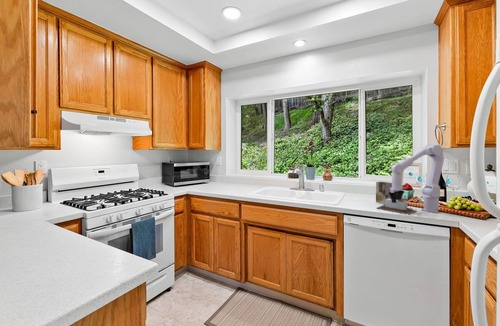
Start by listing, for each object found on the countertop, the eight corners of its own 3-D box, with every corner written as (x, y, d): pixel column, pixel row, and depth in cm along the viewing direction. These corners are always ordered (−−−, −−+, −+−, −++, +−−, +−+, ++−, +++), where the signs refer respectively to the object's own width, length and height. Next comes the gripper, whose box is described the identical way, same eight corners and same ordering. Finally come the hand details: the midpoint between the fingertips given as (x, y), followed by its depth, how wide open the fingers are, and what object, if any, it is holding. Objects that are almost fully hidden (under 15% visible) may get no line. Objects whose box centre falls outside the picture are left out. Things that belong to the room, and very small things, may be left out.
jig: (385, 205, 176) (385, 203, 176) (416, 211, 160) (416, 208, 160) (376, 208, 168) (376, 206, 168) (408, 214, 152) (408, 211, 152)
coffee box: (391, 204, 182) (392, 182, 181) (385, 204, 180) (385, 183, 179) (381, 201, 191) (382, 181, 190) (375, 202, 189) (375, 181, 188)
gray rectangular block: (388, 206, 171) (388, 197, 170) (407, 210, 161) (407, 200, 161) (385, 207, 168) (385, 198, 167) (404, 211, 158) (404, 201, 158)
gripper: (395, 180, 171) (394, 199, 172) (385, 182, 162) (385, 202, 163) (406, 181, 165) (405, 201, 166) (397, 183, 156) (396, 204, 157)
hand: (396, 201), depth 164 cm, fingers open, 7 cm apart
